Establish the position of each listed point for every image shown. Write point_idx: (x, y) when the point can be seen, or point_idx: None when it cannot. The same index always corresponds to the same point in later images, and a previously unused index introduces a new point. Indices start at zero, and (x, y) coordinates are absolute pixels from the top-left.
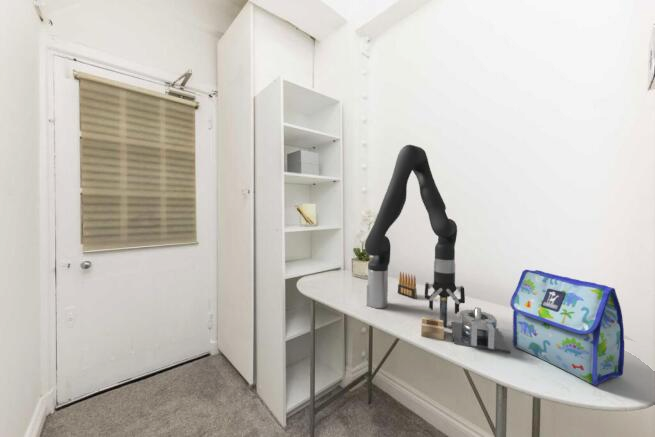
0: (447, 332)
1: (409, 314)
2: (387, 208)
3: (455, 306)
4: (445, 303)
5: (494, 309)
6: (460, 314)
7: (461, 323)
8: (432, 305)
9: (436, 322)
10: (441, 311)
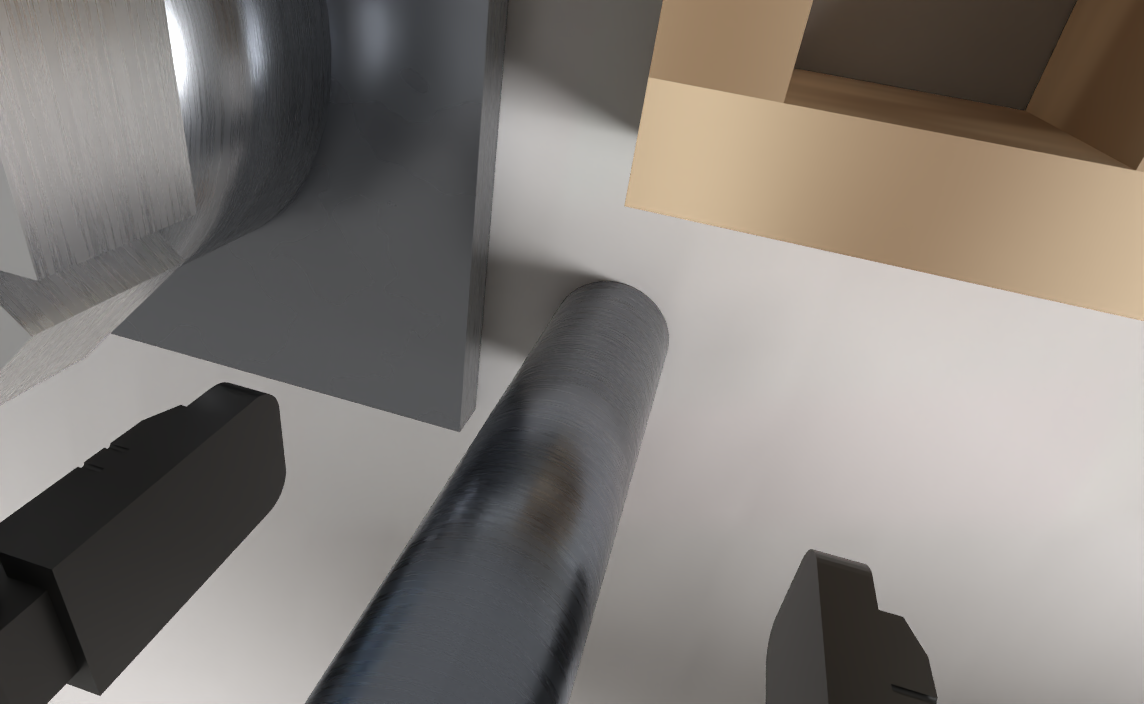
0: (589, 85)
1: (1085, 688)
2: None
3: (116, 509)
4: (370, 658)
5: (56, 698)
6: (93, 217)
7: (318, 377)
8: (844, 674)
9: (826, 107)
10: (584, 480)
